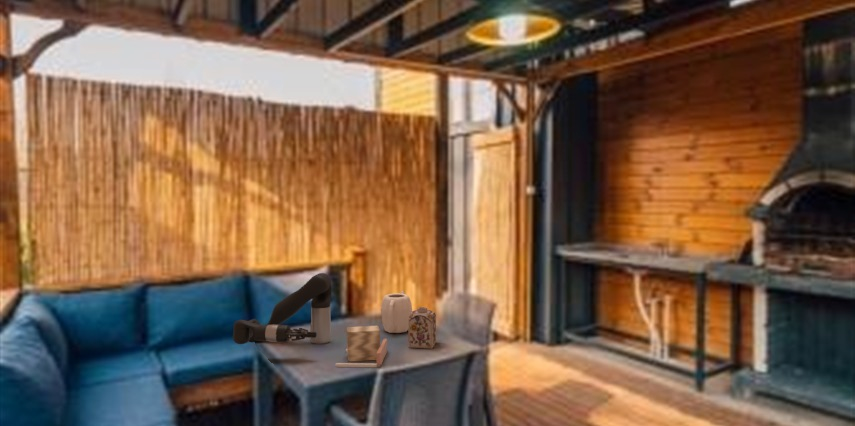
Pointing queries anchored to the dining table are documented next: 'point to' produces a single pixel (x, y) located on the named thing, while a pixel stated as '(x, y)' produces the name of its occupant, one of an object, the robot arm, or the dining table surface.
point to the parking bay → (379, 356)
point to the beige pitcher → (396, 312)
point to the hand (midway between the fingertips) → (316, 334)
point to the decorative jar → (422, 328)
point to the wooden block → (362, 343)
